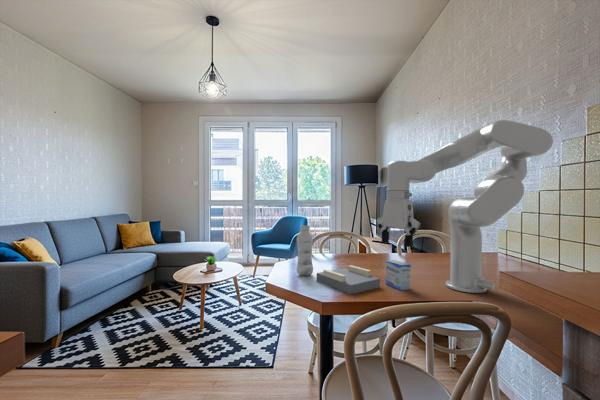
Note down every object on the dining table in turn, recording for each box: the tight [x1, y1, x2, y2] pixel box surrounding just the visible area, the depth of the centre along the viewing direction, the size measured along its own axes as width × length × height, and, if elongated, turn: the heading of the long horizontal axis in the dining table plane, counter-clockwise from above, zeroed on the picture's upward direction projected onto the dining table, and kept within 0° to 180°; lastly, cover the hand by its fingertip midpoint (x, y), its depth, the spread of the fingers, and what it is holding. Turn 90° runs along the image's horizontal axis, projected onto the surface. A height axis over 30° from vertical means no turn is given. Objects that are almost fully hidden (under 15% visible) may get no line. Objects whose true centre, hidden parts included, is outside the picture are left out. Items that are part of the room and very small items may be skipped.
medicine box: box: [385, 259, 412, 291], centre depth 101 cm, size 8×4×9 cm, turn 23°
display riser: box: [316, 264, 381, 295], centre depth 103 cm, size 18×14×5 cm
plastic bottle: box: [296, 224, 314, 277], centre depth 115 cm, size 6×7×20 cm
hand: (396, 244), depth 101 cm, fingers open, 9 cm apart
